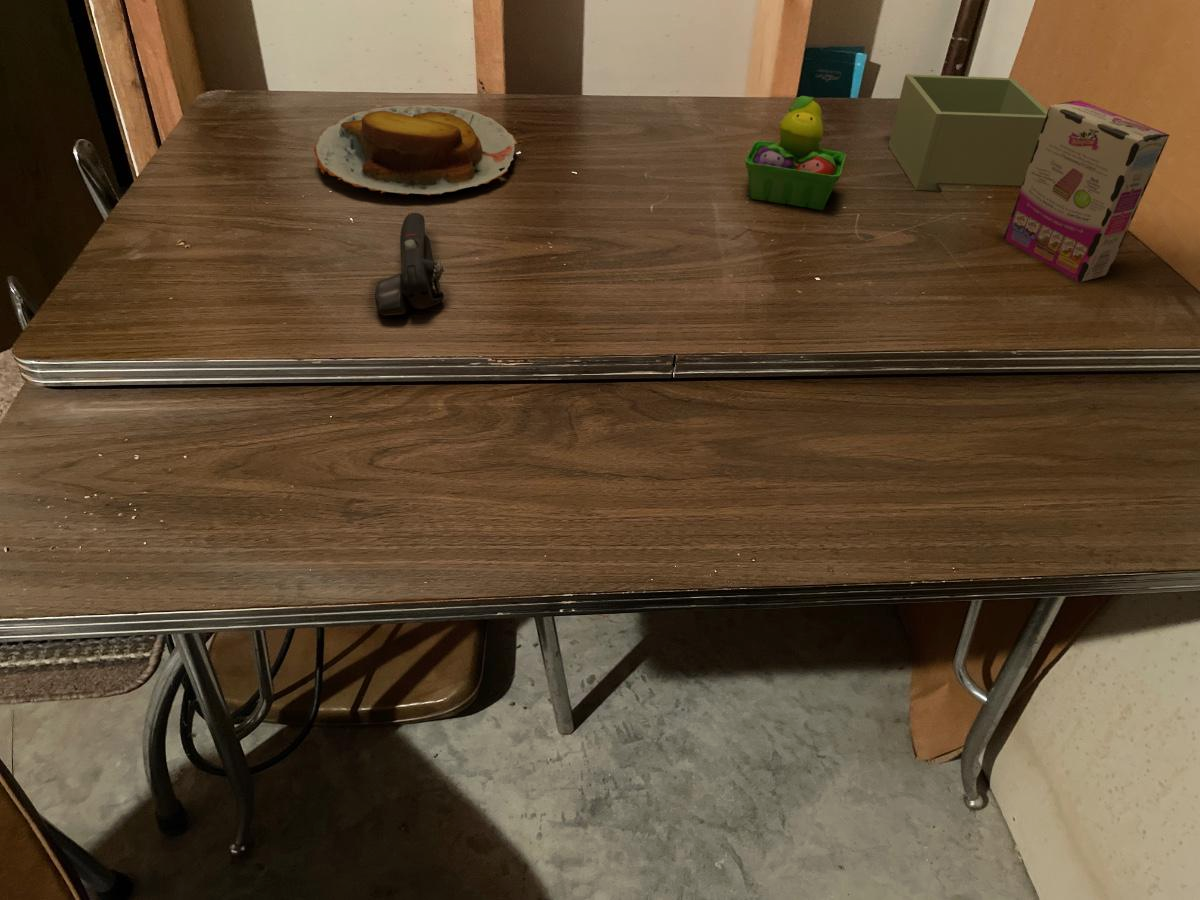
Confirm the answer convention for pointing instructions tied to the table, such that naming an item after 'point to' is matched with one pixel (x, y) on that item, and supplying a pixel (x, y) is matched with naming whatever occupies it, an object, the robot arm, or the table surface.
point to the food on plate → (415, 149)
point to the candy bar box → (1083, 188)
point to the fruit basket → (795, 161)
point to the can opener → (411, 273)
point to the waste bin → (965, 130)
